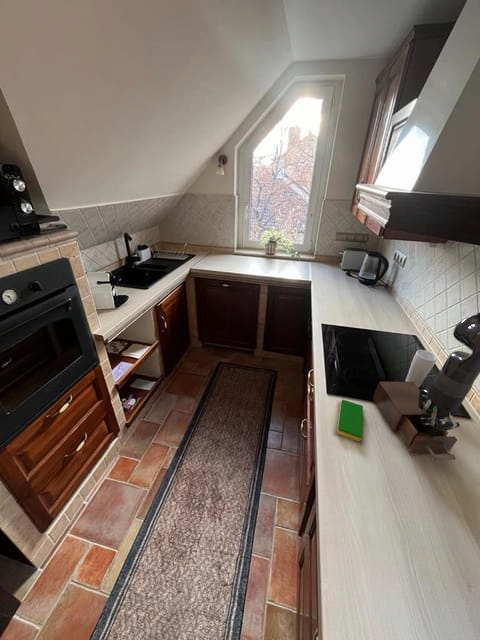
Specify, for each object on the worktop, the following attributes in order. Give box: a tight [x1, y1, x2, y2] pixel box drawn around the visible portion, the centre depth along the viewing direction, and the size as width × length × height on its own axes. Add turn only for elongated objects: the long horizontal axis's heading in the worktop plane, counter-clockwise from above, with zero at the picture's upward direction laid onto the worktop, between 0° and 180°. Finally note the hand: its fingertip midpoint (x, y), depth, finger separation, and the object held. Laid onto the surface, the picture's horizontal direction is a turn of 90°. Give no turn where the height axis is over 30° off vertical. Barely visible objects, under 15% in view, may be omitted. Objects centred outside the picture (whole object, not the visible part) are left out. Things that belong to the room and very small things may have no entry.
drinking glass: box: [404, 349, 438, 389], centre depth 100 cm, size 7×7×15 cm
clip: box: [415, 418, 432, 432], centre depth 77 cm, size 5×3×3 cm, turn 91°
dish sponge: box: [336, 399, 364, 442], centre depth 87 cm, size 7×14×2 cm, turn 156°
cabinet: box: [372, 381, 433, 433], centre depth 88 cm, size 15×13×9 cm
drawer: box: [397, 416, 458, 461], centre depth 79 cm, size 18×11×7 cm, turn 1°
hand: (425, 427), depth 78 cm, fingers closed on clip, 3 cm apart
